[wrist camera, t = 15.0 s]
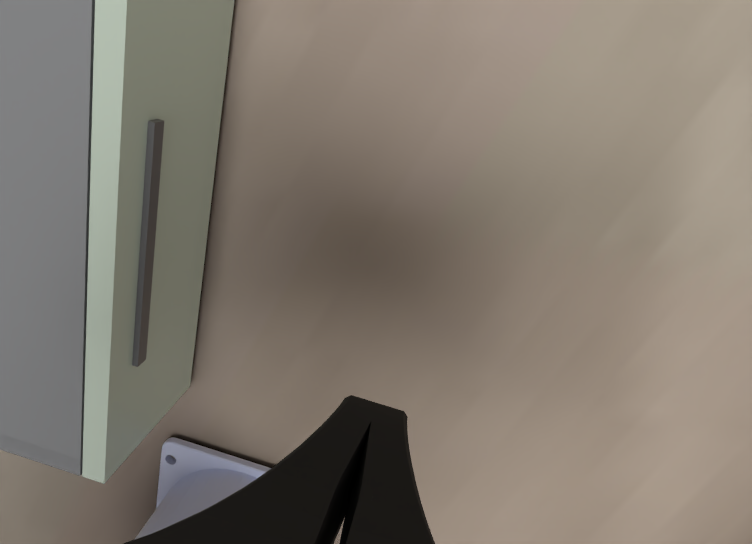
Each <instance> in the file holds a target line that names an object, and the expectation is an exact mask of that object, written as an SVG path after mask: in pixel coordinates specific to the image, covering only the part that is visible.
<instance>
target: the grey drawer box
mask: <svg viewBox="0 0 752 544" xmlns="http://www.w3.org/2000/svg"><path fill="white" fill-rule="evenodd" d="M94 24H95V0H0V450H3V451H6V452H9V453H12V454H15V455H19V456H22V457H25V458H28V459H31V460H34V461H37V462H40V463H43V464H46V465H49V466H52V467H55V468H58V469H61V470H64V471H67V472H70V473H73V474H76V475H79V476H80V475H81V474H82V467H83V430H84V393H85V356H86V319H87V282H88V245H89V208H90V171H91V134H92V98H93V61H94Z"/></svg>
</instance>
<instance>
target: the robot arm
mask: <svg viewBox="0 0 752 544" xmlns="http://www.w3.org/2000/svg"><path fill="white" fill-rule="evenodd" d="M171 456H173V457H174V458H175V459H174V458H172V457H171ZM344 517H345V519H344ZM343 520H344V524H343V529H342V534H341V539H340V544H435V542H434V540H433V537H432V535H431V532H430V529H429V526H428V523H427V520H426V517H425V514H424V511H423V507H422V504H421V501H420V497H419V493H418V490H417V486H416V481H415V477H414V472H413V468H412V463H411V457H410V451H409V444H408V435H407V416H406V414H405V412H404V411H401V410H398V409H395V408H391V407H388V406H385V405H381V404H378V403H375V402H372V401H368V400H365V399H362V398H358V397H355V396H352V395H351V396H348V397H346V398H345V399H344V400H343V402H342V403H341V404H340V406H339V407H338V408H337V409H336V411H335V412H334V413H333V414H332V415H331V416H330V417H329V418H328V419H327V420H326V421H325V422H324V423H323V424H322V426H321V427H319V428H318V429H317V430H316V431H315V432H314V433H313V434H312V435H311V436H310V437H309V438H308V439H307V440H306V441H304V442H303V443H302V444H301V445H300V446H299V447H298V448H296V449H295V450H294V451H293V452H291V453H290V454H289V455H288V456H287V457H285V458H284V459H283V460H282V461H280V462H279V463H278V464H277V465H275V466H274V467H273V468H269V467H266V466H263V465H260V464H257V463H253V462H250V461H247V460H244V459H241V458H238V457H235V456H232V455H228V454H225V453H222V452H219V451H216V450H213V449H210V448H207V447H203V446H200V445H197V444H194V443H191V442H188V441H185V440H182V439H178V438H174V437H171V438H168V439H167V440H166V441H165V442H164V444H163V446H162V451H161V461H160V472H159V482H158V492H157V503H156V510H155V511H154V513H153V514H152V515H151V517H150V518H149V520H148V521H147V522H146V524H145V525H144V527H143V528H142V529H141V531H140V532H139V534H138V535H137V536H136V538H135V539H134V540H132V541H129V542H126V543H124V544H334V541H335V539H336V536H337V534H338V532H339V529H340V527H341V524H342V522H343Z"/></svg>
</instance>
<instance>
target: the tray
mask: <svg viewBox="0 0 752 544" xmlns="http://www.w3.org/2000/svg"><path fill="white" fill-rule="evenodd" d="M233 9H234V0H95V24H94V61H93V98H92V134H91V171H90V208H89V245H88V282H87V319H86V356H85V393H84V430H83V467H82V477H85V478H88V479H91V480H94V481H97V482H100V483H103V484H105V482H106V481H107V480H108V479H109V478H110V477H111V476H112V474H113V473H114V472H115V471H116V470H117V469H118V468H119V467H120V465H121V464H122V463H123V462H124V461H125V460H126V459H127V457H128V456H129V455H130V454H131V453H132V452H133V451H134V450H135V448H136V447H137V446H138V445H139V444H140V443H141V442H142V440H143V439H144V438H145V437H146V436H147V435H148V434H149V433H150V431H151V430H152V429H153V428H154V427H155V426H156V425H157V423H158V422H159V421H160V420H161V419H162V418H163V417H164V416H165V414H166V413H167V412H168V411H169V410H170V409H171V408H172V406H173V405H174V404H175V403H176V402H177V401H178V400H179V398H180V397H181V396H182V395H183V394H184V393H185V392H186V391H187V389H188V388H189V387H190V382H191V374H192V365H193V356H194V348H195V339H196V330H197V321H198V313H199V304H200V295H201V287H202V278H203V269H204V261H205V252H206V243H207V235H208V226H209V217H210V209H211V200H212V191H213V182H214V174H215V165H216V156H217V148H218V139H219V130H220V122H221V113H222V104H223V96H224V87H225V78H226V70H227V61H228V52H229V43H230V35H231V26H232V17H233Z"/></svg>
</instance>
